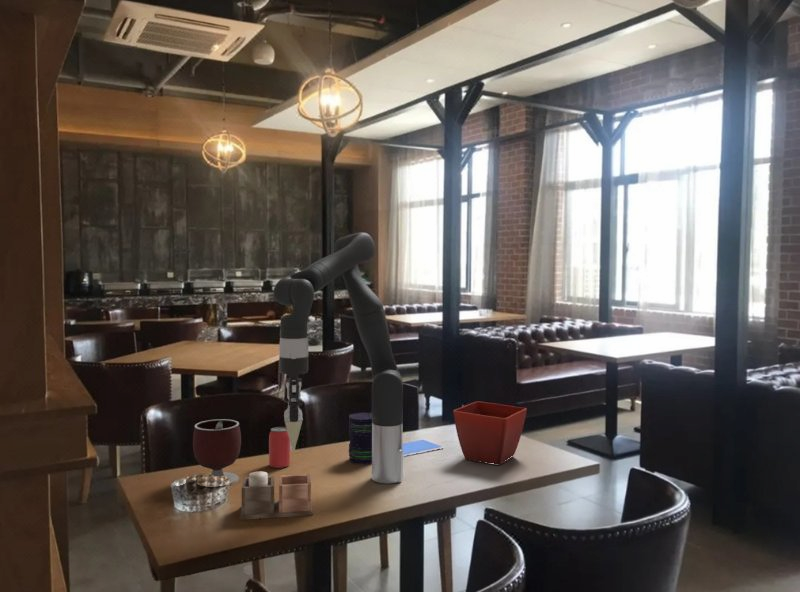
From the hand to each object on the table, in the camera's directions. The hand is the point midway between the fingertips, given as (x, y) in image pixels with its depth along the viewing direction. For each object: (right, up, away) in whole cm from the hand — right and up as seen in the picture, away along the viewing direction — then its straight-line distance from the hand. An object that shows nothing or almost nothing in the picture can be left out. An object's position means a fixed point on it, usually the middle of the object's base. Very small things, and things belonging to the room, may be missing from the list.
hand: (293, 418), depth 171 cm
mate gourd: (-26, -23, +23) cm, 42 cm away
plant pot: (+58, -23, +48) cm, 79 cm away
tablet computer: (+32, -23, +58) cm, 70 cm away
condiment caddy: (-4, -24, 0) cm, 25 cm away
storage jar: (+16, -23, +45) cm, 53 cm away
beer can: (-11, -23, +38) cm, 46 cm away
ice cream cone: (0, -9, 0) cm, 9 cm away
